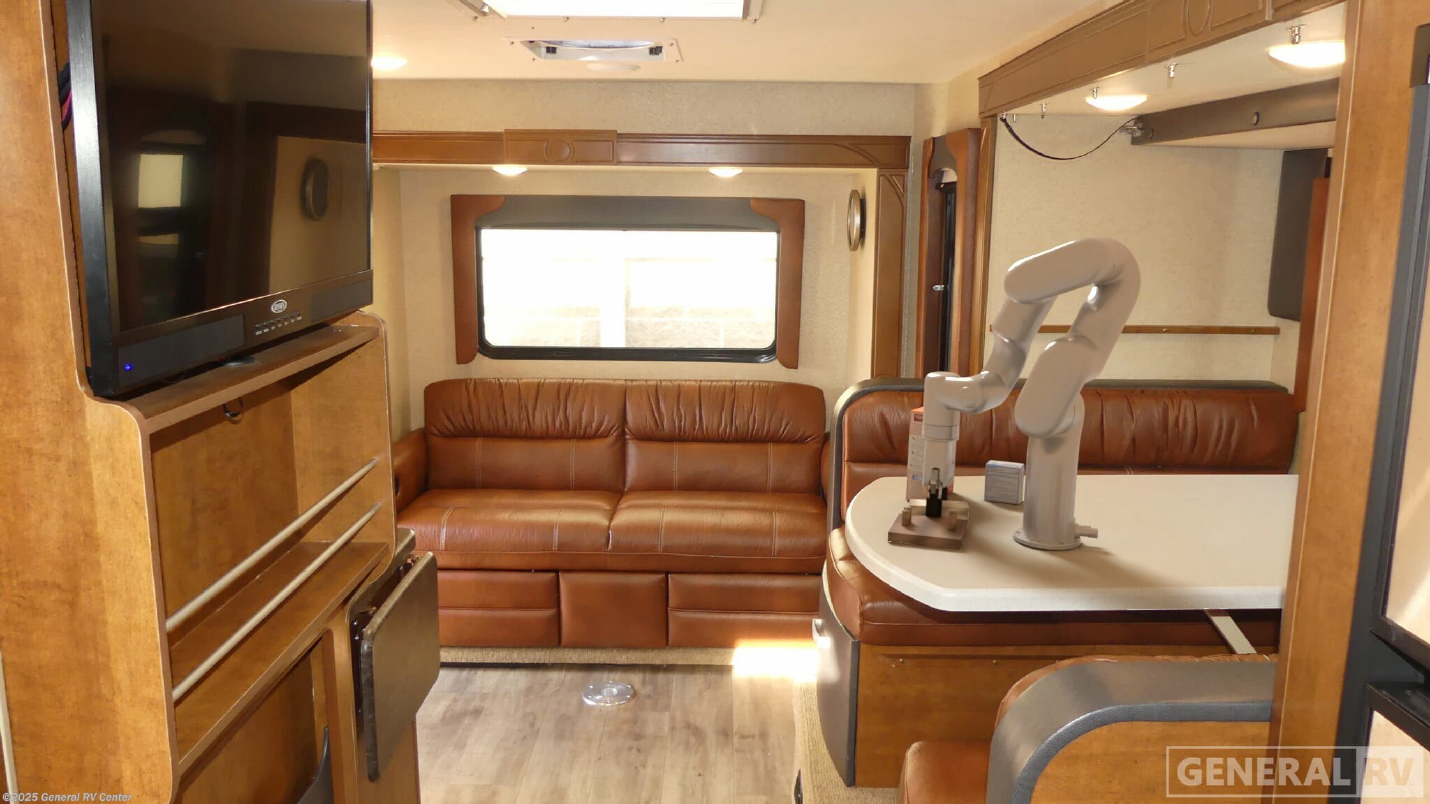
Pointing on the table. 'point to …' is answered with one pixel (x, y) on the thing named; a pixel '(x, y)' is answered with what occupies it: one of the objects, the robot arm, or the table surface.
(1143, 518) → the table surface
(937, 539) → the peg board
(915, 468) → the cracker box
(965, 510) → the beige wooden block
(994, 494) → the medicine box
